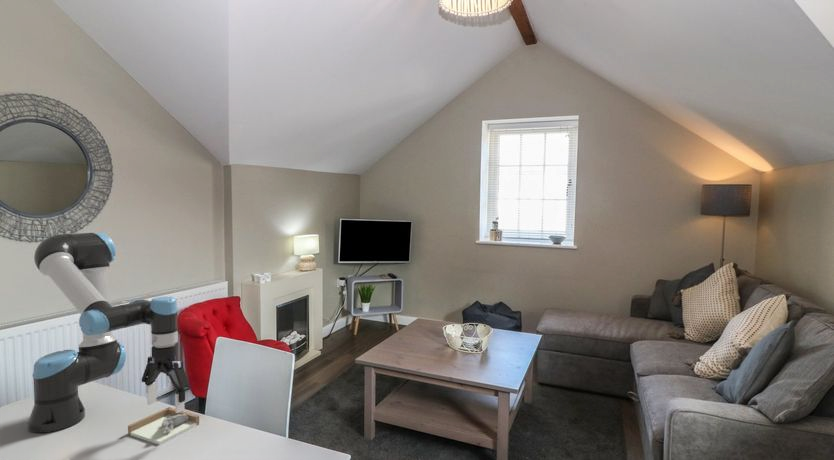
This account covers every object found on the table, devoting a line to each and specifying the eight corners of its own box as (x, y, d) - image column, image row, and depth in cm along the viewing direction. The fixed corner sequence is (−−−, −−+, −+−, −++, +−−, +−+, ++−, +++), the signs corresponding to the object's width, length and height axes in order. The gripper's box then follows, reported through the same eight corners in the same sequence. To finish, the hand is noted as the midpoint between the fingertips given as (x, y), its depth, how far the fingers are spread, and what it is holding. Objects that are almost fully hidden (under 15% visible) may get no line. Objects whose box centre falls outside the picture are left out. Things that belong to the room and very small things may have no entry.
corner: (128, 434, 144) (127, 425, 144) (169, 415, 158) (168, 407, 157) (159, 445, 138) (159, 435, 138) (199, 424, 151) (199, 415, 151)
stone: (147, 433, 142) (147, 421, 142) (175, 417, 154) (175, 406, 154) (164, 436, 140) (164, 423, 140) (191, 419, 152) (191, 408, 152)
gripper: (128, 342, 145) (129, 404, 147) (181, 353, 136) (182, 419, 137) (150, 336, 152) (151, 395, 153) (201, 346, 142) (202, 409, 144)
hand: (165, 407), depth 145 cm, fingers open, 13 cm apart
